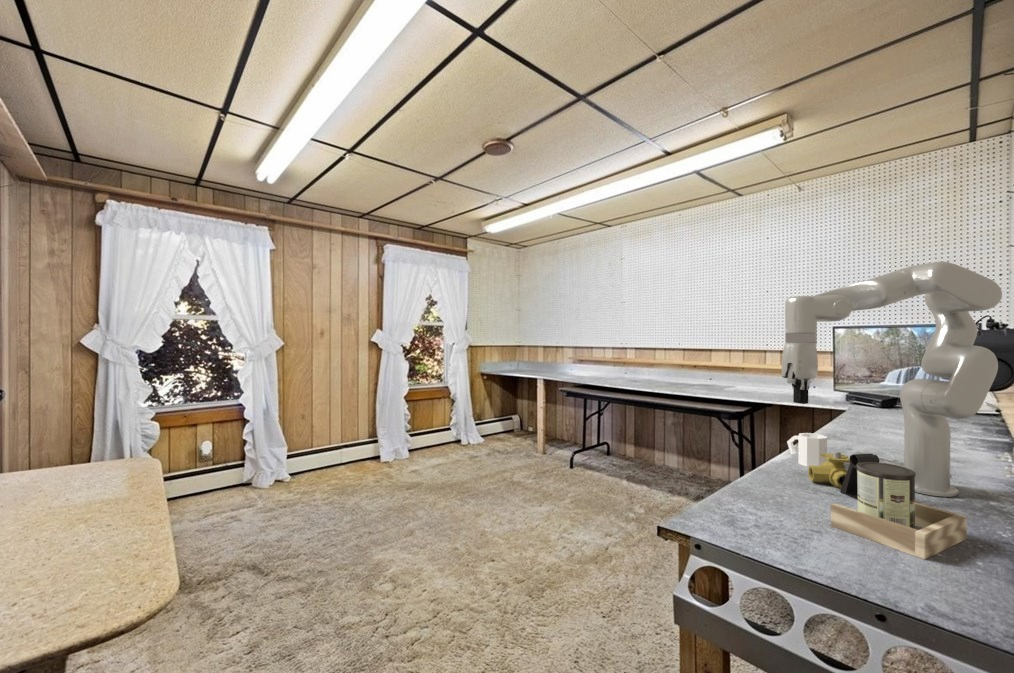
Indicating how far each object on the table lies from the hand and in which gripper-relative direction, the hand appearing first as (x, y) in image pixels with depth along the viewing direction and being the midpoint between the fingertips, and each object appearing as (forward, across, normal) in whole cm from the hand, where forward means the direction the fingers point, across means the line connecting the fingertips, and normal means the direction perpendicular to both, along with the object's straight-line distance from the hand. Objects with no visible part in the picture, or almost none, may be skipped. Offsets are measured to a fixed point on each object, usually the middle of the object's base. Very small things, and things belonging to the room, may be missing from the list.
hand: (800, 403), depth 125 cm
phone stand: (+25, -9, +12) cm, 29 cm away
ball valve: (+26, -13, +1) cm, 29 cm away
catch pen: (+25, +8, +25) cm, 36 cm away
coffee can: (+25, +8, +23) cm, 35 cm away
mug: (+25, -28, -14) cm, 40 cm away
